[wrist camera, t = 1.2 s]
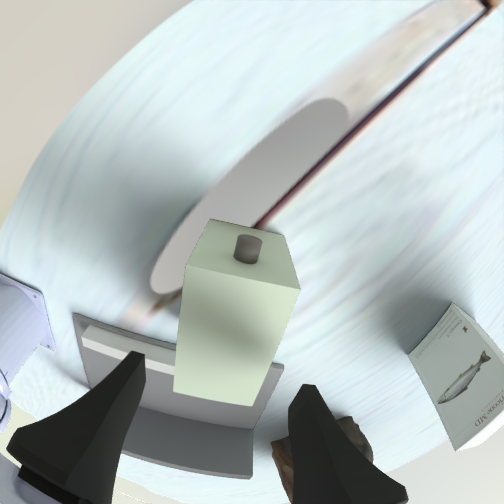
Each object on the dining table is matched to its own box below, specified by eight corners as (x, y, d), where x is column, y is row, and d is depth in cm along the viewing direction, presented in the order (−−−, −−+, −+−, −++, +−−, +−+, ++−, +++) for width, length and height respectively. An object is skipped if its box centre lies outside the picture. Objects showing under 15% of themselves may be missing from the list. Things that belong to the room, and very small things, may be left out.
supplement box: (451, 299, 20) (525, 388, 9) (477, 321, 22) (534, 394, 10) (404, 355, 23) (453, 453, 11) (436, 368, 24) (479, 446, 12)
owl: (357, 408, 26) (394, 552, 8) (379, 437, 30) (407, 540, 12) (267, 441, 29) (270, 573, 11) (306, 464, 33) (316, 563, 15)
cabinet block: (192, 324, 21) (173, 391, 15) (213, 203, 17) (189, 243, 11) (252, 337, 21) (252, 406, 15) (288, 221, 18) (308, 269, 11)
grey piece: (94, 392, 26) (74, 433, 19) (75, 313, 21) (37, 361, 14) (249, 431, 28) (249, 479, 21) (283, 365, 23) (290, 430, 16)
